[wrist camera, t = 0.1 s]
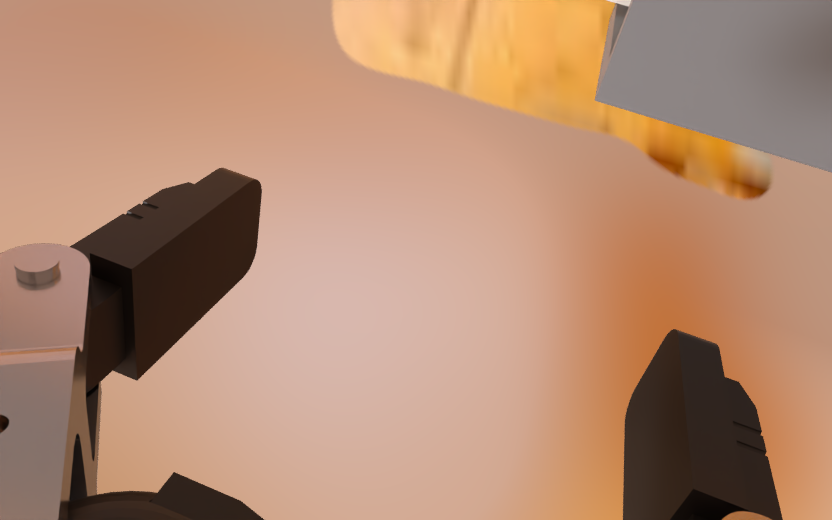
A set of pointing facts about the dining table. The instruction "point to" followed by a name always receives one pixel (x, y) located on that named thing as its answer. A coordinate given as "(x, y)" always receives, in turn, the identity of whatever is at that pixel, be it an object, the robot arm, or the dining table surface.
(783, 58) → the cabinet
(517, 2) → the dining table surface
